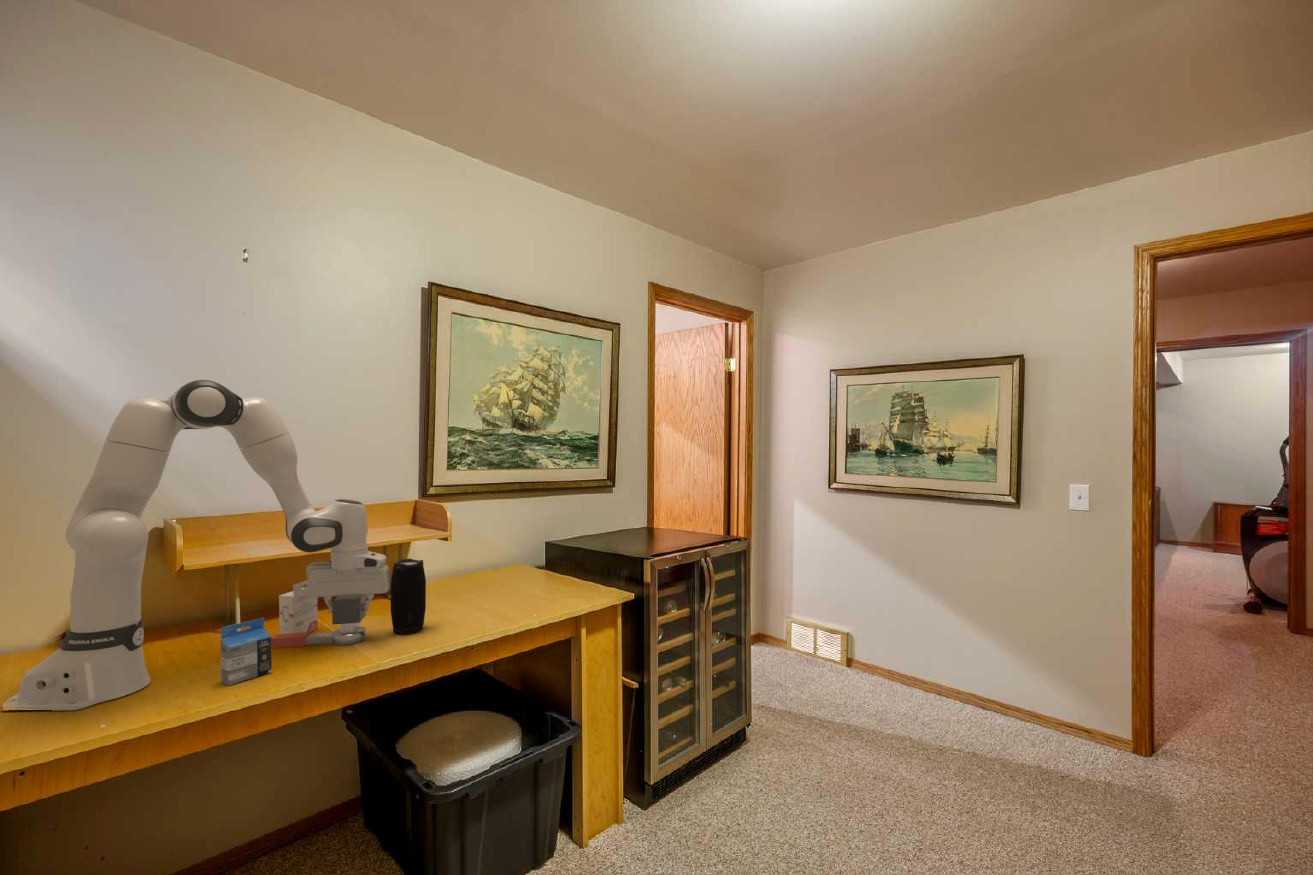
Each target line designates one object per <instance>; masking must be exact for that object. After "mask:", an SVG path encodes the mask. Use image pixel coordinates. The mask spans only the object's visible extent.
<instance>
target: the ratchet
mask: <svg viewBox="0 0 1313 875" xmlns="http://www.w3.org/2000/svg"><path fill="white" fill-rule="evenodd" d="M339 625H340V628H337V629H335V630H334V631H332V632H318V633H317V632H316V633H311V632H304V633H289V634H280V633H279V634H275V635H273V636H272V637H271V649H280V648H292V647H293V648H294V646H295V647H305V646H304V645H306V646H315V644H318V645H329V644H330V643H331V644H332V645H334V646H338V647H340V646H341V647H342V646H344V647H345V646H353V645H356V643H357V644H359V643H362V642H364V641H365V640H366V638H367V637H366V636H367V628H366V627H364V626H362V625H361V626H360V625H359V623H348V624H339ZM358 625H359V626H358Z"/></svg>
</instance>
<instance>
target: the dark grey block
mask: <svg viewBox="0 0 1313 875" xmlns="http://www.w3.org/2000/svg"><path fill="white" fill-rule="evenodd" d="M366 602H367V594H363V595H345V596H336V598H334V599H333V601H332V613H331V616H332V617H331V618H332V619H331V620H332V621H331V622H332V623H331V625H340V624H348V623H358V624H360V623H361V622H362V621H363V620H364V619H365V617H366V615H367V611H362V604H363V603H366Z"/></svg>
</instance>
